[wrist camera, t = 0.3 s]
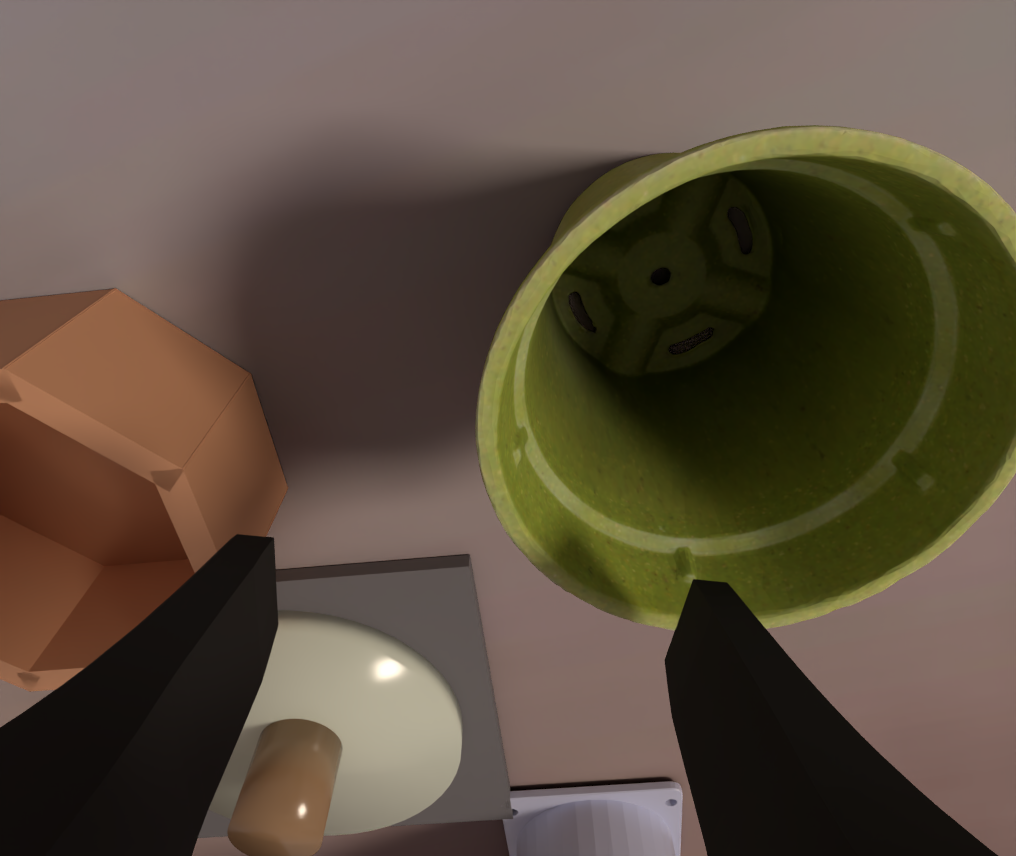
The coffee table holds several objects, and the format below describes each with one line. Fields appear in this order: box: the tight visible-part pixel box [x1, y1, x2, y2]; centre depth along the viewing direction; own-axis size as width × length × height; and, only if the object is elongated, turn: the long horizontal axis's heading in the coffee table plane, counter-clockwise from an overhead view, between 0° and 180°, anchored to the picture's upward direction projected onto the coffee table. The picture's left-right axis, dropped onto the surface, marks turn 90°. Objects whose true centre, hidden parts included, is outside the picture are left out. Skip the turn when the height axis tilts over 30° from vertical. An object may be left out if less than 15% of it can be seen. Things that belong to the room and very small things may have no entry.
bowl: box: [0, 288, 288, 692], centre depth 20 cm, size 10×10×5 cm
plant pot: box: [475, 125, 1016, 630], centre depth 15 cm, size 9×9×9 cm
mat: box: [198, 555, 513, 838], centre depth 28 cm, size 15×15×1 cm
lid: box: [208, 610, 463, 856], centre depth 26 cm, size 12×12×4 cm
